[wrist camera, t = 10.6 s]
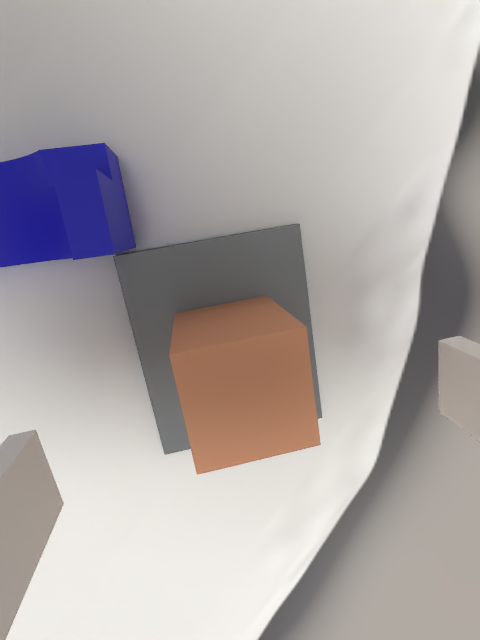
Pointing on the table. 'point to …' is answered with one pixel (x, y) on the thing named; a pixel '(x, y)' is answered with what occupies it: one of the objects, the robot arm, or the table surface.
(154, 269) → the stand
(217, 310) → the peach clay cube
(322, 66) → the table surface
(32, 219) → the blue arch bracket
